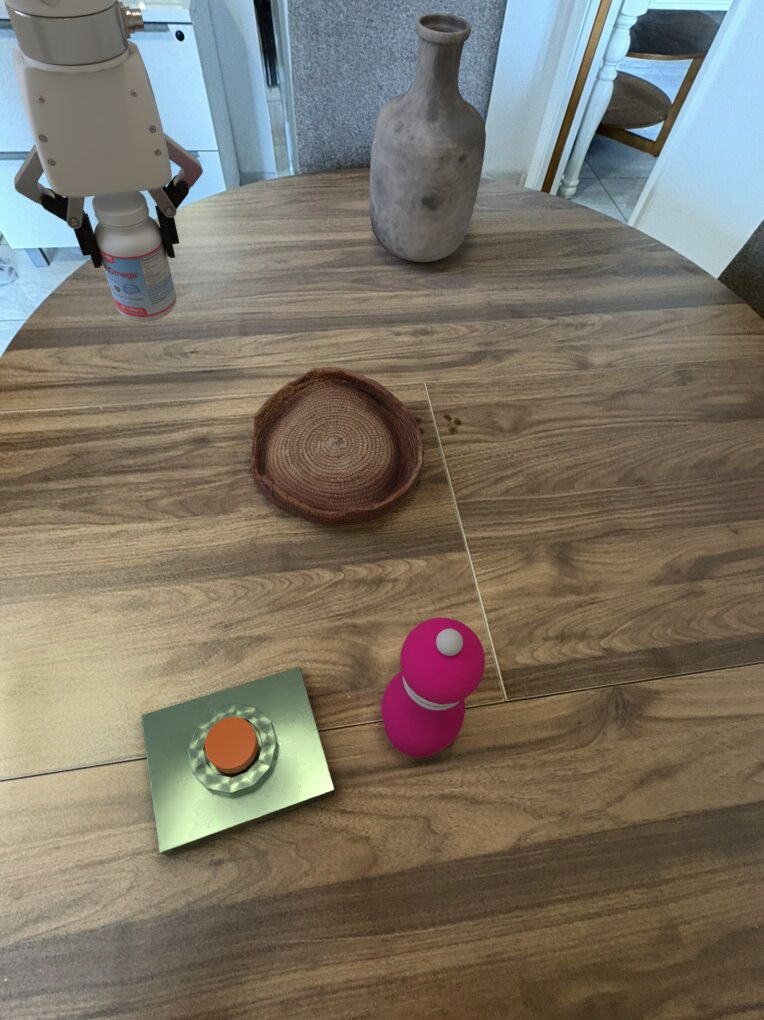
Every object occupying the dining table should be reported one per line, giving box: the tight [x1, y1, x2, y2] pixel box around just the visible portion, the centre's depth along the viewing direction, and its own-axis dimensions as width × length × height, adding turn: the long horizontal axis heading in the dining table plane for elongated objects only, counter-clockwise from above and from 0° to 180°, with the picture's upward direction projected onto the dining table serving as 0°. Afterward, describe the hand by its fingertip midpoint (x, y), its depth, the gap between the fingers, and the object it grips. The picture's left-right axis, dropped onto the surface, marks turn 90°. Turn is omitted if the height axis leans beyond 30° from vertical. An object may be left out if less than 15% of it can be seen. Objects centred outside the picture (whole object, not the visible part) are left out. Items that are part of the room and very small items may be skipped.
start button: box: [205, 717, 258, 773], centre depth 50 cm, size 4×4×2 cm
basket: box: [250, 366, 425, 528], centre depth 71 cm, size 22×20×5 cm
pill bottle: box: [91, 191, 177, 323], centre depth 60 cm, size 6×6×11 cm
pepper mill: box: [380, 616, 486, 759], centre depth 48 cm, size 7×7×20 cm
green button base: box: [140, 666, 336, 857], centre depth 52 cm, size 14×11×4 cm
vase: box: [369, 12, 487, 263], centre depth 87 cm, size 16×16×30 cm
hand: (133, 253), depth 59 cm, fingers closed on pill bottle, 6 cm apart
